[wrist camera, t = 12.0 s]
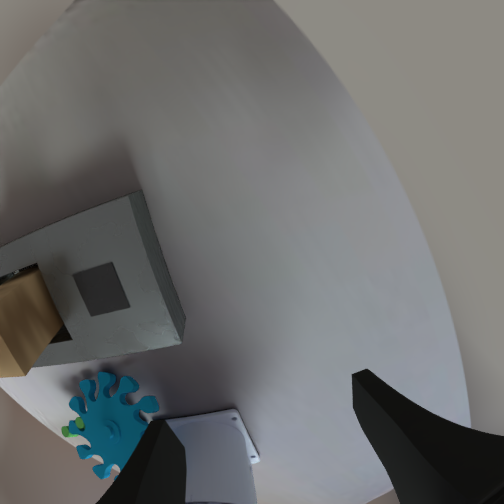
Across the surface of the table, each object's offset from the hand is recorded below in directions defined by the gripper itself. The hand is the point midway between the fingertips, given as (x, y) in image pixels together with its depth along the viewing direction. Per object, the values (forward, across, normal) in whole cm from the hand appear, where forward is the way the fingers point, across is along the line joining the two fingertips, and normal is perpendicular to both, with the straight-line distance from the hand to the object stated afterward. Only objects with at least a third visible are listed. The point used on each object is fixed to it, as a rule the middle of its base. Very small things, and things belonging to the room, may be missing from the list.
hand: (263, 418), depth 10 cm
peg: (+10, +14, -4) cm, 18 cm away
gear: (+11, +13, +7) cm, 18 cm away
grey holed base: (+10, +14, -4) cm, 18 cm away
